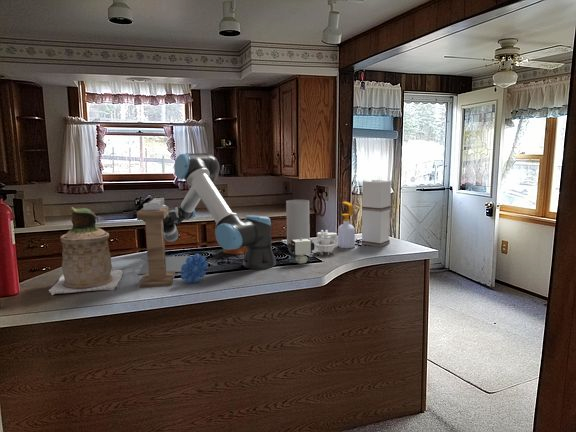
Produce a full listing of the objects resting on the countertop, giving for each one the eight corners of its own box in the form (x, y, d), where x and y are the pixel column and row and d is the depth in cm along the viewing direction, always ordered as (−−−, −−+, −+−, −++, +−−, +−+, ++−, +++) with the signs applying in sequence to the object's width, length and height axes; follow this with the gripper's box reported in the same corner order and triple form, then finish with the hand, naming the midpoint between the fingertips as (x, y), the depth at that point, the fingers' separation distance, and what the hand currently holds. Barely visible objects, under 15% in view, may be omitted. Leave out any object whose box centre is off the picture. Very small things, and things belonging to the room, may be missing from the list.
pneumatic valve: (314, 262, 198) (314, 237, 196) (291, 265, 194) (290, 239, 192) (310, 259, 203) (310, 235, 201) (287, 262, 199) (287, 237, 197)
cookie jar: (118, 290, 164) (111, 208, 159) (47, 297, 157) (38, 212, 152) (123, 272, 187) (117, 201, 182) (62, 278, 180) (54, 204, 175)
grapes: (204, 277, 178) (203, 249, 176) (211, 281, 172) (209, 253, 170) (177, 282, 171) (176, 254, 169) (183, 287, 166) (182, 257, 164)
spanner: (159, 210, 166) (159, 204, 166) (143, 210, 165) (143, 204, 165) (166, 203, 188) (166, 197, 188) (152, 203, 187) (152, 198, 187)
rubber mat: (184, 272, 186) (184, 271, 186) (137, 275, 183) (137, 273, 183) (189, 256, 213) (189, 255, 213) (148, 258, 210) (148, 257, 210)
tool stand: (170, 285, 168) (166, 211, 163) (139, 287, 166) (133, 212, 161) (175, 274, 183) (171, 205, 179) (146, 275, 182) (141, 207, 177)
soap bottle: (342, 244, 235) (343, 200, 231) (357, 245, 230) (358, 201, 226) (334, 247, 228) (334, 202, 224) (349, 249, 223) (350, 203, 219)
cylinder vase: (282, 246, 231) (281, 201, 227) (295, 242, 241) (294, 199, 237) (301, 249, 224) (301, 203, 220) (313, 245, 234) (313, 200, 230)
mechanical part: (313, 256, 210) (313, 232, 208) (316, 250, 222) (315, 228, 220) (336, 256, 208) (336, 233, 206) (337, 250, 220) (337, 228, 218)
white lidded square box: (389, 243, 235) (390, 180, 229) (380, 246, 227) (381, 182, 221) (371, 240, 242) (372, 180, 236) (361, 244, 234) (362, 181, 228)
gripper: (193, 232, 211) (188, 216, 192) (141, 234, 208) (131, 219, 188) (192, 218, 214) (188, 201, 194) (141, 220, 210) (132, 203, 191)
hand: (160, 210), depth 191 cm, fingers open, 13 cm apart
